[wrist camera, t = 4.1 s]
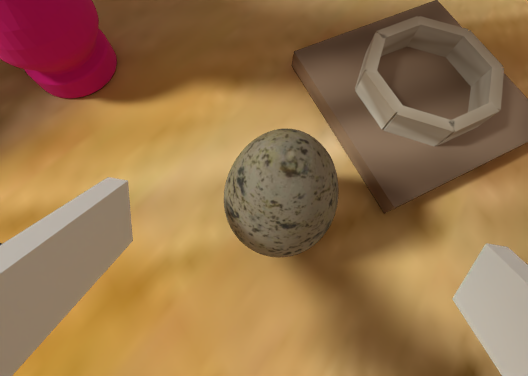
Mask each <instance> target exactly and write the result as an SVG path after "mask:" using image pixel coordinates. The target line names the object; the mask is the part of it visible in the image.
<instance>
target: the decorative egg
mask: <svg viewBox="0 0 528 376" xmlns="http://www.w3.org/2000/svg"><path fill="white" fill-rule="evenodd" d="M337 203H338V180H337V174H336V170H335V166H334V164H333V161H332V159H331V157H330V155H329V154H328V152H327V151H326V149H325V148H324V147H323V146H322V145H321V144H320V143H319V142H318V141H317V140H316V139H315V138H313V137H312V136H310V135H309V134H307V133H305V132H302V131H299V130H294V129H278V130H273V131H270V132H267V133H265V134H263V135H261V136H259V137H258V138H256V139H255V140H253V141H252V142H251V143H250V144H249V145H248V146H246V147H245V149H244V150H243V151H242V152H241V153H240V155H239V156H238V157H237V159H236V160H235V162H234V164H233V166H232V168H231V170H230V172H229V174H228V177H227V180H226V185H225V190H224V208H225V213H226V217H227V220H228V223H229V225H230V227H231V229H232V231H233V232H234V234H235V235H236V236H237V238H238V239H239V240H240V241H241V242H242V243H243V244H244V245H246V246H247V247H248V248H250V249H252V250H253V251H255V252H257V253H260V254H262V255H266V256H270V257H288V256H293V255H296V254H299V253H301V252H304V251H306V250H307V249H309V248H310V247H312V246H313V245H314V244H316V243H317V242H318V241H319V240H320V239H321V238H322V237H323V235H324V234H325V233H326V231H327V230H328V228H329V226H330V225H331V222H332V220H333V218H334V215H335V212H336V208H337Z"/></svg>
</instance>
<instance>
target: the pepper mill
mask: <svg viewBox="0 0 528 376" xmlns="http://www.w3.org/2000/svg"><path fill="white" fill-rule="evenodd" d="M98 21H99V20H98V15H97V11H96V8H95V6H94V4H93V2H92V0H0V59H1V60H3V61H4V62H6V63H8V64H11V65H13V66H16V67H18V68H23V69H24V70H25V72H26V73H27V74H28V75H29V76H30V77H31V78H32V79H33V80H34V81H35V82H36V83H37V84H38V85H39V86H41V87H42V88H43V89H44V90H45V91H46V92H48V93H50V94H52V95H54V96H57V97H61V98H78V97H84V96H87V95H90V94H92V93H94V92H96V91H98V90H99V89H101V88H102V87H103V86H104V85H105V84H106V83H107V82H109V81H110V79H111V78H112V76H113V74H114V72H115V69H116V65H117V59H116V54H115V52H114V50H113V48H112V46H111V45H110V43H109V42H108V40H107V38H106V37H105V35H104V34H103V32H102V31H101V30H100V29H98Z"/></svg>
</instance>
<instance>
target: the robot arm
mask: <svg viewBox="0 0 528 376" xmlns="http://www.w3.org/2000/svg"><path fill="white" fill-rule="evenodd" d="M132 241H133V237H132V225H131V213H130V201H129V189H128V181H127V180H121V179H115V178H109V177H107V178H106V179H104V180H103V181H101V182H100V183H98V184H96V185H95V186H93V187H92V188H90V189H89V190H87V191H85V192H84V193H82V194H81V195H79V196H77V197H76V198H74V199H73V200H71V201H70V202H68V203H66V204H65V205H63V206H62V207H60V208H59V209H57V210H55V211H54V212H52V213H51V214H49V215H47V216H46V217H44V218H43V219H41V220H40V221H38V222H36V223H35V224H33V225H32V226H30V227H28V228H27V229H25V230H24V231H22V232H21V233H19V234H17V235H16V236H14V237H13V238H11V239H10V240H8V241H6V242H5V243H3V244H2V243H0V376H12V375H13V374H14V373H15V372H16V371H17V369H18V368H19V367H20V366H21V365H22V364H23V363H24V362H25V361H26V359H27V358H28V357H29V356H30V355H31V354H32V353H33V352H34V351H35V349H36V348H37V347H38V346H39V345H40V344H41V343H42V342H43V340H44V339H45V338H46V337H47V336H48V335H49V334H50V333H51V332H52V330H53V329H54V328H55V327H56V326H57V325H58V324H59V323H60V321H61V320H62V319H63V318H64V317H65V316H66V315H67V314H68V313H69V311H70V310H71V309H72V308H73V307H74V306H75V305H76V304H77V302H78V301H79V300H80V299H81V298H82V297H83V296H84V295H85V294H86V292H87V291H88V290H89V289H90V288H91V287H92V286H93V285H94V283H95V282H96V281H97V280H98V279H99V278H100V277H101V276H102V275H103V273H104V272H105V271H106V270H107V269H108V268H109V267H110V266H111V264H112V263H113V262H114V261H115V260H116V259H117V258H118V257H119V256H120V254H121V253H122V252H123V251H124V250H125V249H126V248H127V247H128V245H129V244H130V243H131V242H132ZM452 299H453V301H454V302H455V304H456V306H457V307H458V309H459V310H460V312H461V313H462V315H463V316H464V318H465V319H466V321H467V323H468V324H469V326H470V327H471V329H472V330H473V332H474V333H475V335H476V336H477V338H478V340H479V341H480V343H481V344H482V346H483V347H484V349H485V350H486V352H487V353H488V355H489V357H490V358H491V360H492V361H493V363H494V364H495V366H496V367H497V369H498V370H499V372H500V374H501V375H502V376H528V265H527V264H526V263H525V262H524V261H523V260H522V259H521V258H519V257H518V256H517V255H516V254H515V253H514V252H513V251H512V250H510V249H509V248H508V247H505V246H499V245H493V244H487V243H486V244H485V245H484V247H483V249H482V250H481V252H480V254H479V255H478V257H477V259H476V260H475V262H474V264H473V265H472V267H471V269H470V270H469V272H468V274H467V275H466V277H465V279H464V280H463V282H462V284H461V285H460V287H459V289H458V290H457V292H456V294H455V295H454V297H453V298H452Z"/></svg>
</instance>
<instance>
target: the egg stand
mask: <svg viewBox="0 0 528 376" xmlns="http://www.w3.org/2000/svg"><path fill="white" fill-rule="evenodd" d="M292 67H293V69H294V70H295V72H296V73H297V75H298V77H299V78H300V80H301V81H302V83H303V84H304V86H305V88H306V89H307V91H308V92H309V94H310V96H311V97H312V99H313V100H314V102H315V104H316V105H317V107H318V108H319V110H320V112H321V113H322V115H323V116H324V118H325V120H326V121H327V123H328V124H329V126H330V128H331V129H332V131H333V132H334V134H335V136H336V137H337V139H338V140H339V142H340V144H341V145H342V147H343V148H344V150H345V152H346V153H347V155H348V156H349V158H350V160H351V161H352V163H353V164H354V166H355V167H356V169H357V171H358V172H359V174H360V175H361V177H362V179H363V180H364V182H365V183H366V185H367V187H368V188H369V190H370V191H371V193H372V195H373V196H374V198H375V199H376V201H377V203H378V204H379V206H380V207H381V209H382V211H383V212H384V213H386V212H388V211H390V210H392V209H394V208H396V207H398V206H400V205H402V204H404V203H406V202H408V201H410V200H412V199H414V198H416V197H419V196H421V195H423V194H425V193H427V192H429V191H431V190H433V189H435V188H437V187H439V186H441V185H443V184H445V183H447V182H449V181H451V180H453V179H455V178H457V177H459V176H461V175H463V174H465V173H467V172H469V171H471V170H473V169H475V168H477V167H479V166H481V165H483V164H485V163H487V162H489V161H491V160H493V159H495V158H497V157H499V156H501V155H503V154H505V153H507V152H509V151H511V150H513V149H515V148H517V147H519V146H521V145H523V144H525V143H527V142H528V99H527V98H526V97H525V95H524V94H523V93H522V92H521V91H520V90H519V89H518V88H517V87H516V86H515V85H514V83H513V82H512V81H511V80H510V79H509V78H508V77H507V76H506V75H505V74H504V68H502V67H503V65H502V64H501V63H500V62H499V61H498V60H497V59H496V58H495V57H494V56H493V55H492V54H491V52H490V51H489V50H488V49H487V48H486V47H485V46H484V45H483V44H482V43H481V42H480V41H479V39H478V38H477V37H476V36H475V35H474V34H473V33H472V32H471V31H468V29H466V28H462V27H461V26H460V24H459V23H458V22H457V21H456V20H455V19H454V18H453V17H452V16H451V15H450V14H449V12H448V11H447V10H446V9H445V8H444V7H443V6H442V5H441V4H440V3H439V2H438V0H435V1H432V2H430V3H427V4H424V5H421V6H419V7H416V8H413V9H410V10H408V11H405V12H402V13H399V14H396V15H394V16H391V17H388V18H385V19H383V20H380V21H377V22H374V23H372V24H369V25H366V26H363V27H360V28H358V29H355V30H352V31H349V32H347V33H344V34H341V35H338V36H336V37H333V38H330V39H327V40H324V41H322V42H319V43H316V44H313V45H311V46H308V47H305V48H302V49H300V50H297V51H294V55H293V61H292Z"/></svg>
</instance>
